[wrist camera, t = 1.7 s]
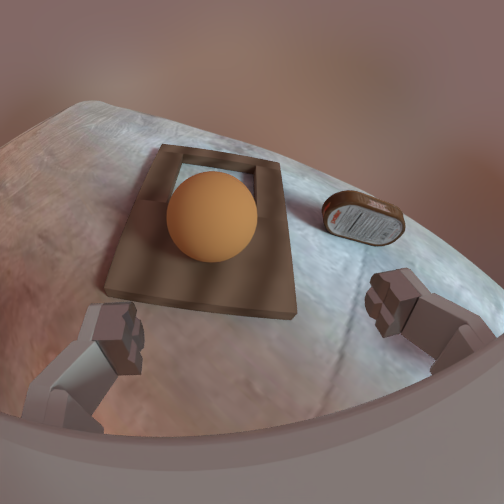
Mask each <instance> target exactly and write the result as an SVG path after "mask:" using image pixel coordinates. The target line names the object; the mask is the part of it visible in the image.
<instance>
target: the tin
mask: <svg viewBox="0 0 504 504" xmlns="http://www.w3.org/2000/svg"><path fill="white" fill-rule="evenodd" d="M322 215H323V222H324V225H325V227H326V229H327V230H328V231H329V232H330V233H332V234H333V235H336V236H339V237H343V238H346V239H350V240H354V241H357V242H361V243H364V244H368V245H371V246H385V245H389V244H391V243H393V242H395V241H396V240H397V239H398V238H400V237H401V235H402V234H403V233H404V231H405V221H404V218H403V213H402V211H401V210H400V208H398V207H397V206H395V205H393V204H390V203H388V202H385V201H382V200H380V199H377V198H374V197H372V196H369V195H366V194H364V193H361V192H358V191H352V190H351V191H350V190H347V191H341V192H338V193H335V194H333V195H332V196H330V197H329V198H328V199H327V200H326V201H325V202H324V204H323V206H322Z"/></svg>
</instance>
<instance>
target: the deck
mask: <svg viewBox="0 0 504 504" xmlns="http://www.w3.org/2000/svg"><path fill="white" fill-rule="evenodd" d="M182 163H186V164H194V165H201V166H207V167H214V168H220V169H226V170H232V171H238V172H244V173H249V174H254V201H255V204H256V207H257V225H256V229H255V233H254V235H253V237H252V239H251V241H250V242H249V244H248V245H247V246H246V247H245V248H244V249H243V250H242V251H241V252H240V253H239V254H237V255H236V256H234V257H232V258H230V259H228V260H225V261H221V262H202V261H198V260H195V259H193V258H191V257H189V256H187V255H186V254H184V253H183V252H182V251H181V250H180V249H179V248H178V247H177V246H176V244H175V243H174V242H173V240H172V238H171V236H170V234H169V231H168V227H167V219H166V217H167V208H168V204H169V201H170V198H171V195H172V192H173V189H174V186H175V183H176V180H177V177H178V174H179V171H180V168H181V165H182ZM104 289H105V292H106V294H107V296H108V297H114V298H119V299H124V300H130V301H136V302H142V303H148V304H154V305H160V306H167V307H174V308H181V309H188V310H195V311H203V312H211V313H220V314H229V315H238V316H248V317H258V318H270V319H282V320H292V319H293V318H294V316H295V315H296V314H297V303H296V293H295V283H294V273H293V264H292V255H291V246H290V238H289V229H288V221H287V214H286V206H285V198H284V191H283V184H282V177H281V170H280V163H277V162H273V161H268V160H263V159H258V158H253V157H248V156H242V155H237V154H231V153H225V152H219V151H213V150H206V149H199V148H192V147H184V146H176V145H168V144H162V145H161V147H160V149H159V151H158V153H157V155H156V157H155V159H154V161H153V163H152V165H151V167H150V169H149V171H148V173H147V176H146V178H145V180H144V182H143V184H142V186H141V189H140V191H139V193H138V196H137V198H136V200H135V203H134V205H133V207H132V210H131V212H130V215H129V217H128V220H127V222H126V225H125V227H124V230H123V232H122V235H121V238H120V240H119V243H118V246H117V249H116V252H115V254H114V257H113V260H112V263H111V266H110V269H109V272H108V276H107V279H106V282H105V285H104Z"/></svg>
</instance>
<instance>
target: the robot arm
mask: <svg viewBox="0 0 504 504" xmlns="http://www.w3.org/2000/svg"><path fill="white" fill-rule="evenodd" d="M370 284H371V286H372V287H371V288H370V289H369V290H368V291H367V293H366V296H365V307H366V311H367V313H368V314H369V316H370V317H372V318H373V319H375V320H376V323H375V326H376V327H377V329H378V331H379V332H380V334H381V335H382V337H383V338H385V337H389V336H393V335H396V334H400V333H401V335H403V336H404V337H405V338H407V339H408V340H409V341H411V342H412V343H414V344H415V345H416V346H418V347H419V348H420V349H422V350H423V351H424V352H426V353H427V354H429V355H430V356H431V357H433V358H434V359H435V360H436V361H435V363H434V364H433V365H432V367H431V368H430V372H431V374H432V376H430V377H428V378H425V379H423V380H421V381H419V382H417V383H415V384H412V385H410V386H408V387H405V388H403V389H401V390H398V391H396V392H393V393H391V394H388V395H386V396H383V397H380V398H378V399H375V400H372V401H369V402H367V403H364V404H361V405H358V406H355V407H351V408H348V409H345V410H342V411H338V412H335V413H331V414H328V415H324V416H320V417H316V418H312V419H308V420H304V421H300V422H295V423H291V424H286V425H281V426H275V427H270V428H264V429H258V430H251V431H244V432H236V433H227V434H217V435H204V436H186V437H141V436H123V435H111V434H103V433H104V428H103V426H102V425H101V424H100V423H99V422H98V421H96V420H95V419H94V418H93V417H92V414H93V413H94V411H95V410H96V408H97V407H98V405H99V404H100V402H101V401H102V399H103V398H104V396H105V395H106V393H107V392H108V391H109V389H110V388H111V386H112V385H113V383H114V382H115V380H116V379H117V378H118V376H119V375H141V371H142V361H143V358H142V356H141V354H140V351H141V350H142V349H143V348H144V341H145V339H144V329H143V325H142V323H141V320H140V319H138V318H137V317H136V313H137V310H136V307H135V305H134V303H133V302H115V303H91V304H90V305H89V306H88V309H87V312H86V314H85V317H84V320H83V323H82V326H81V329H80V332H79V335H78V339H77V341H72V342H71V343H70V344H69V345H68V346H67V347H66V348H65V349H64V350H63V351H62V352H61V353H60V354H59V355H58V356H57V357H56V358H55V359H54V360H53V361H52V362H51V363H50V364H49V365H48V366H47V367H46V368H45V369H44V370H43V371H42V372H41V373H40V374H39V375H38V376H37V377H36V378H35V379H34V380H33V381H32V382H31V383H30V385H29V389H28V392H27V396H26V400H25V404H24V408H23V412H22V416H21V418H19V417H16V416H12V415H9V414H6V413H3V412H0V504H504V333H503V334H502V335H501V336H499V337H498V338H496V337H495V335H494V334H493V333H492V331H491V330H490V329H489V327H488V326H487V325H486V324H485V322H484V321H483V320H482V319H481V317H480V316H478V315H476V314H474V313H472V312H470V311H469V310H467V309H465V308H463V307H461V306H459V305H457V304H455V303H453V302H451V301H449V300H447V299H445V298H443V297H441V296H439V295H437V294H435V293H432V294H431V292H430V291H429V290H428V289H427V288H426V287H425V285H424V284H423V283H422V282H421V281H420V280H419V279H418V278H417V276H416V275H415V274H414V273H413V272H412V271H411V270H410V269H408V268H401V269H396V270H392V271H386V272H381V273H375V274H374V275H373V276H372V277H371V280H370Z"/></svg>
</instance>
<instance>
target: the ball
mask: <svg viewBox="0 0 504 504" xmlns="http://www.w3.org/2000/svg"><path fill="white" fill-rule="evenodd" d="M166 219H167V227H168V231H169V234H170V236H171V238H172V240H173V242H174V243H175V244H176V246H177V247H178V248H179V249H180V250H181V251H182V252H183V253H184V254H186V255H187V256H189V257H191V258H193V259H195V260H198V261H202V262H221V261H225V260H228V259H230V258H232V257H234V256H236V255H237V254H239V253H240V252H241V251H242V250H243V249H244V248H245V247H246V246H247V245H248V244H249V242H250V241H251V239H252V237H253V235H254V233H255V229H256V225H257V207H256V204H255V201H254V198H253V196H252V194H251V192H250V191H249V189H248V188H247V187H246V186H245V185H244V184H243V183H242V182H241V181H239V180H238V179H237V178H235V177H233V176H231V175H229V174H226V173H222V172H215V171H209V172H203V173H199V174H196V175H194V176H192V177H190V178H188V179H186V180H185V181H184V182H183V183H181V184H180V185H179V186H178V188H177V189H176V190H175V191H174V193H173V195H172V197H171V199H170V201H169V204H168V208H167V217H166Z"/></svg>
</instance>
